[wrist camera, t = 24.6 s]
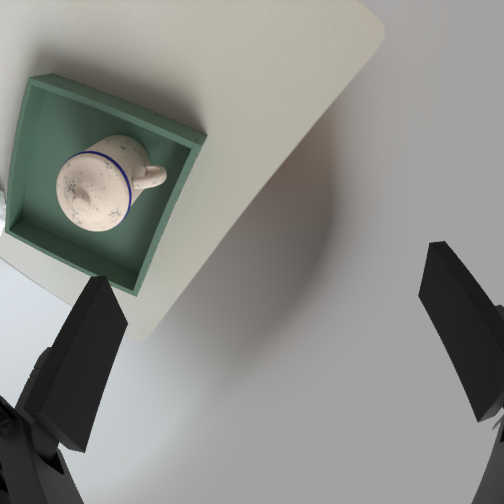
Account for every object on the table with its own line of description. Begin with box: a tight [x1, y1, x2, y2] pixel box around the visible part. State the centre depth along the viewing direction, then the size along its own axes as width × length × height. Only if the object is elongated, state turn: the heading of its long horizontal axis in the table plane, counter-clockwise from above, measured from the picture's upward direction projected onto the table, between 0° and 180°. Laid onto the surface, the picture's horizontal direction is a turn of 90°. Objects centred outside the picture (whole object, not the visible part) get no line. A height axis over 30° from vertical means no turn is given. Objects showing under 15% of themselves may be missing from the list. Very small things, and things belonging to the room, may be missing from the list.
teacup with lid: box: [56, 135, 167, 231], centre depth 33 cm, size 12×9×12 cm
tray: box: [5, 74, 207, 297], centre depth 38 cm, size 24×24×5 cm
